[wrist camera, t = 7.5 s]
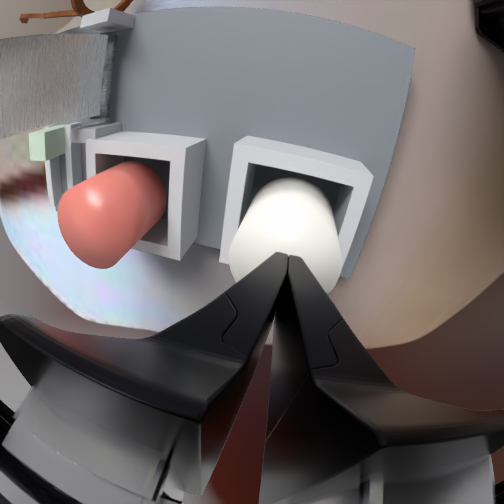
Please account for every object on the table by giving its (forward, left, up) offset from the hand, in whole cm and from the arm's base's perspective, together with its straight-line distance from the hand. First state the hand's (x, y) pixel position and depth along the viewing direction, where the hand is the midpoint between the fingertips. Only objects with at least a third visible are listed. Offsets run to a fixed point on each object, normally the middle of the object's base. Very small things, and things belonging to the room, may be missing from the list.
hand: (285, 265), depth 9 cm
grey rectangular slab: (+12, -6, -5) cm, 14 cm away
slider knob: (+16, -2, -6) cm, 17 cm away
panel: (+7, -3, -8) cm, 11 cm away
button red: (+8, +1, -4) cm, 9 cm away
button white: (0, 0, -4) cm, 4 cm away
